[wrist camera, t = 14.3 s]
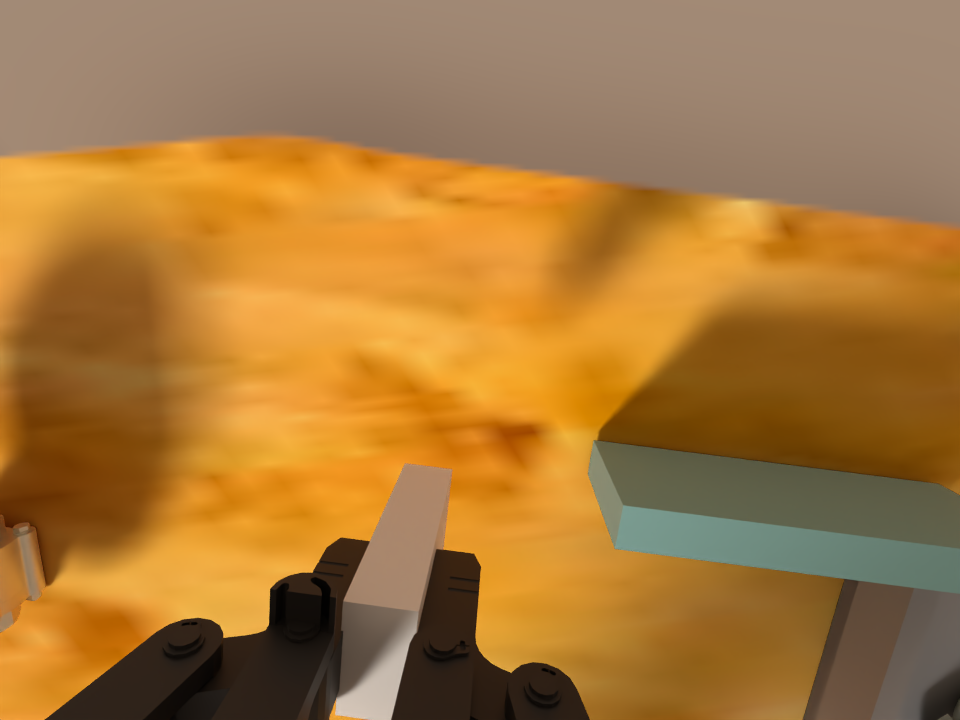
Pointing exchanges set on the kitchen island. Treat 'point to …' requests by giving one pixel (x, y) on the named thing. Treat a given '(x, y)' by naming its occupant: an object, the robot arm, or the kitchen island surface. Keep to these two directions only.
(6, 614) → the pneumatic valve
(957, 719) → the valve
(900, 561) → the gate
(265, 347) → the kitchen island surface
